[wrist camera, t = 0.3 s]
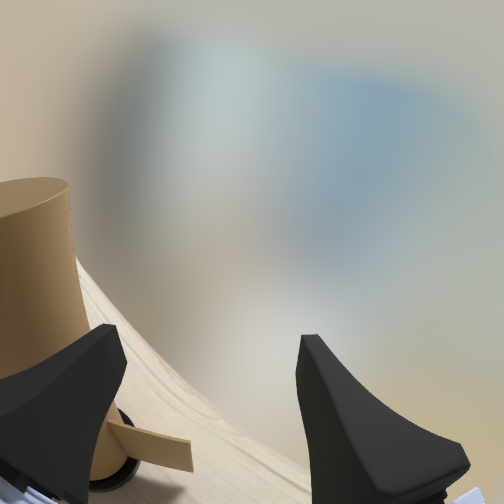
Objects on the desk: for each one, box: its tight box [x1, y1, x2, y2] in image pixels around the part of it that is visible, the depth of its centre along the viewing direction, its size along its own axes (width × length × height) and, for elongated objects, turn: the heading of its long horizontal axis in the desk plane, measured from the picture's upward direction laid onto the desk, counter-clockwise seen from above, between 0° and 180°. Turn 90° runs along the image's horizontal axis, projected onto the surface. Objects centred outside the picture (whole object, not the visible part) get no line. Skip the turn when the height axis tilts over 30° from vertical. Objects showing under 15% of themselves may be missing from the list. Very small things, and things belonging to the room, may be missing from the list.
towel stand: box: [89, 408, 141, 492], centre depth 19 cm, size 12×12×1 cm
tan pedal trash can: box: [0, 177, 194, 481], centre depth 14 cm, size 10×16×24 cm, turn 89°
